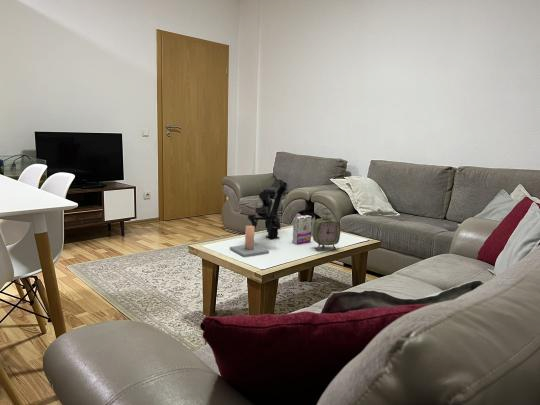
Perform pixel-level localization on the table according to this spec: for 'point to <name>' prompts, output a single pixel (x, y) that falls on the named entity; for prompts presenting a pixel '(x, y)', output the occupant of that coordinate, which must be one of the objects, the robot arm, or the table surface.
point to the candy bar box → (302, 229)
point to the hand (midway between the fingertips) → (260, 231)
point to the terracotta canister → (249, 237)
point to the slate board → (247, 253)
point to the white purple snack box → (312, 219)
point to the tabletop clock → (326, 230)
